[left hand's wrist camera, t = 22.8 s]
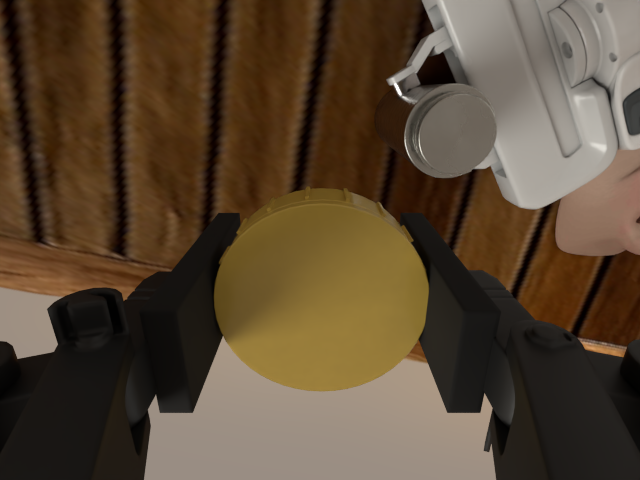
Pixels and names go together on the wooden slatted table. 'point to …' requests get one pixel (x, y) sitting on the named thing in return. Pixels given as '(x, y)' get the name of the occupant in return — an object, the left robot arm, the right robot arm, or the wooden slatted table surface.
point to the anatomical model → (603, 211)
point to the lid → (321, 291)
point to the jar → (439, 127)
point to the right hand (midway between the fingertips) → (411, 130)
